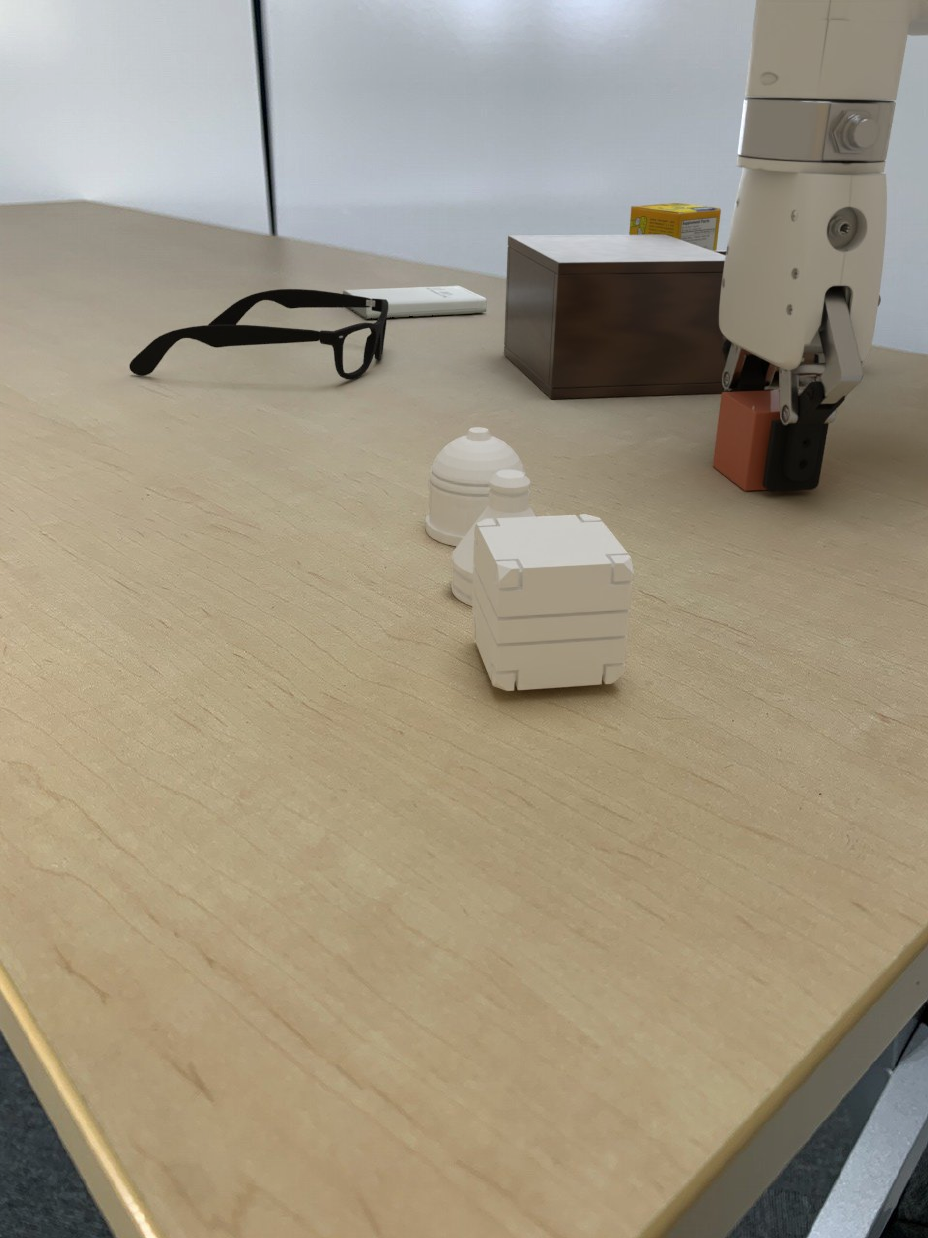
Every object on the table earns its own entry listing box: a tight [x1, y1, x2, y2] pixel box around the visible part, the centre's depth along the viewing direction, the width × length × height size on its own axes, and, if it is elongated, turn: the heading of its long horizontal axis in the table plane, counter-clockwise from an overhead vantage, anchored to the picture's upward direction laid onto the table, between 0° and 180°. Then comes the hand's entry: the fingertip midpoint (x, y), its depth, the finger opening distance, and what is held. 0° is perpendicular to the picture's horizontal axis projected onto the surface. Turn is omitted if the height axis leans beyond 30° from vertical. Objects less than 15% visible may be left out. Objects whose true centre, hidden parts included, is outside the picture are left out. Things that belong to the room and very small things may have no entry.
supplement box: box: [628, 202, 722, 250], centre depth 102 cm, size 6×6×11 cm
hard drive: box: [342, 285, 488, 320], centre depth 110 cm, size 2×8×12 cm
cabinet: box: [503, 234, 726, 400], centre depth 86 cm, size 14×15×10 cm
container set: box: [425, 426, 635, 692], centre depth 49 cm, size 20×5×6 cm, turn 10°
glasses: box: [128, 288, 388, 381], centre depth 88 cm, size 17×18×5 cm
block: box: [712, 389, 801, 492], centre depth 64 cm, size 5×5×5 cm
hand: (765, 468), depth 65 cm, fingers open, 5 cm apart
